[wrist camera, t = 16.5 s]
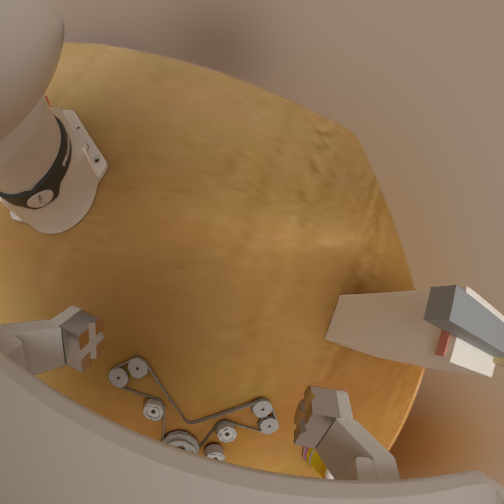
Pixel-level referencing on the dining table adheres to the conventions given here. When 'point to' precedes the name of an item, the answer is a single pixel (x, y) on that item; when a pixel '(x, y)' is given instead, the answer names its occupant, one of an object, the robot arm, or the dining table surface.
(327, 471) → the supplement bottle
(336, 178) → the dining table surface
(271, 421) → the pulley system
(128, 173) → the dining table surface
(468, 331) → the bar
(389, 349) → the pillar
